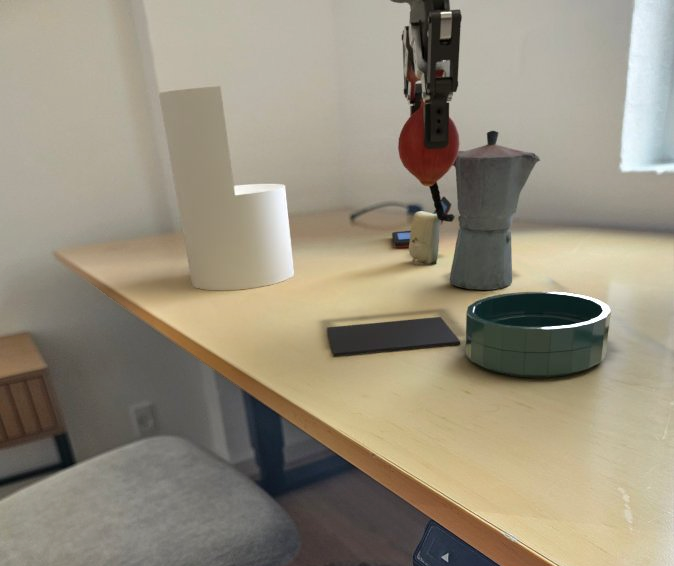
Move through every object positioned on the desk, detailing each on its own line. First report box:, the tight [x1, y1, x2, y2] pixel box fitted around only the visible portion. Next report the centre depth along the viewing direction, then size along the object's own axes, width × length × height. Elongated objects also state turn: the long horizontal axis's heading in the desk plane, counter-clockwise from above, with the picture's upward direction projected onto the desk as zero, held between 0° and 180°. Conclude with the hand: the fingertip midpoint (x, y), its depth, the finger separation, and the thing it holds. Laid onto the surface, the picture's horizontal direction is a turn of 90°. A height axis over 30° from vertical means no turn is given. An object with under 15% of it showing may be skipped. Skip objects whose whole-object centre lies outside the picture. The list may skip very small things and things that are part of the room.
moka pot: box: [428, 130, 541, 291], centre depth 91 cm, size 10×15×20 cm, turn 71°
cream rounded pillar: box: [408, 210, 442, 266], centre depth 109 cm, size 6×5×8 cm
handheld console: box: [391, 196, 452, 249], centre depth 127 cm, size 12×11×7 cm
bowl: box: [465, 291, 612, 379], centre depth 65 cm, size 13×13×5 cm
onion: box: [397, 99, 461, 187], centre depth 63 cm, size 6×6×8 cm
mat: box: [326, 316, 461, 358], centre depth 76 cm, size 14×10×1 cm
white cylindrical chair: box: [158, 85, 295, 291], centre depth 104 cm, size 17×17×28 cm
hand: (428, 146), depth 64 cm, fingers closed on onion, 6 cm apart
